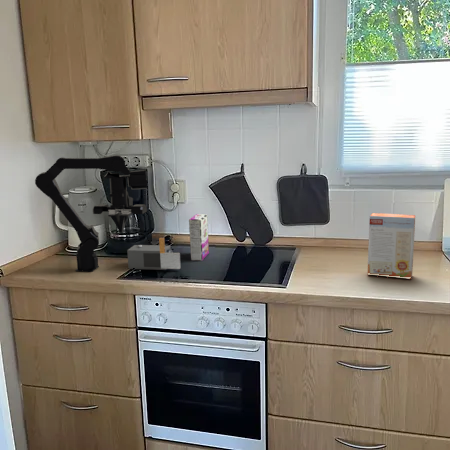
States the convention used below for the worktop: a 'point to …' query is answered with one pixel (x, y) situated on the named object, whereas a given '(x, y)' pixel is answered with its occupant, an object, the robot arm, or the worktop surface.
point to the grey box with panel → (145, 257)
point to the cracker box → (391, 244)
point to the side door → (168, 257)
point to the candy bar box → (199, 237)
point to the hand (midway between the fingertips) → (121, 232)
